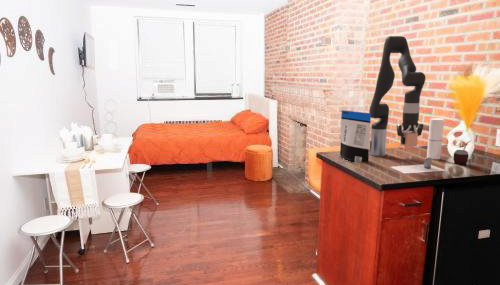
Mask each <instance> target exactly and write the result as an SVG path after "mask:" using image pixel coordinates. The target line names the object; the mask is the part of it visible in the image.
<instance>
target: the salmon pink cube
mask: <svg viewBox="0 0 500 285" xmlns="http://www.w3.org/2000/svg"><path fill="white" fill-rule="evenodd" d="M403 135H404V134H403ZM418 138H419V136H418V133H414V132H411V131H409V132H408V133H406V136H405V144H404V145H403V144H402V143H401V142H400V146H403V147H404V148H405V147H406V148H413V147H414V148H415V147H418Z"/></svg>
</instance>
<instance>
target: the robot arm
mask: <svg viewBox="0 0 500 285" xmlns="http://www.w3.org/2000/svg"><path fill="white" fill-rule="evenodd" d="M391 54H400V57H399V59H398V67H399V70H400V72H401V83H402V85H403V86H404V87H414V88H413V89H411V90H408V91H406V92H405V93H404V98H403V99H404V103H403V107H402V123H401V124H397V125H396V132H397V137H400V143H402V144H403V145H404V144H405V136H406V133H408V132H410V131H411V132H414V133H418V137H420V136H422V132H423V130H424V129H423V128H424V124H423V123H419V120H420V110H421V109H420V101H421V100H420V99H421V93H422V91H423V88H424V86H425V82H426V75H425V73H424V72H422V71H417V66H416V64H415V62H414V61H413V59H412V56H411V52H410V48H409V44H408V41H407V38H406V37H405V36H403V35H402V36H399V35H389V36H387V37H386V38H385V41H384V44H383V50H382V56H381V57H382V58H381V64H380V68H379V71H378V74H377V75H378V76H377V79H376V84H375V90H374V94H373V97H372V99H371V103H370V106H369V112H368V113H371V115H370V116H371V119H379V120H377V121H376V122H374V123H372V124H371V125H370V139H369V156H374V157H375V156H376V157H383V156H385V155H386V146H387V130H388V129H387V128H388V124H389V115H390V107H389V104H387V103H381V101H382V99H383V98H384V97H385V95H387V93H389V92H390V90H391V89H392V87H393V84H394V81H395V79H396V78H395V77H396V75H395V71H394V68H393V66H392V63H391V60H390V59H391ZM403 134H404V135H403Z"/></svg>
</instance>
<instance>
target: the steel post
mask: <svg viewBox="0 0 500 285" xmlns="http://www.w3.org/2000/svg"><path fill="white" fill-rule="evenodd" d="M423 160H424V161H423V165H424V168H426V169H431V165H432V161H433V159H432V158H430V157H427V156H425V157H424V159H423Z"/></svg>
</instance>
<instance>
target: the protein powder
mask: <svg viewBox="0 0 500 285" xmlns="http://www.w3.org/2000/svg"><path fill="white" fill-rule="evenodd" d="M370 115H371V113H369V112H361V111H355V110H354V111H352V110H343V109H341V116H340V117H341V121H340V124H341V125H340V150H339V151H340V153H339V156H340V155H341V156H340V158H341V157H342V158H344V159H345V160H348V161H351V162H350V163H352V162H353V163H363V162H365V163H369V156H370V155H369V149H370V139H371V121H372V120H371V119H372V118H371V116H370ZM342 158H341V159H342ZM345 160H344V161H345ZM348 161H347V162H348Z"/></svg>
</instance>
